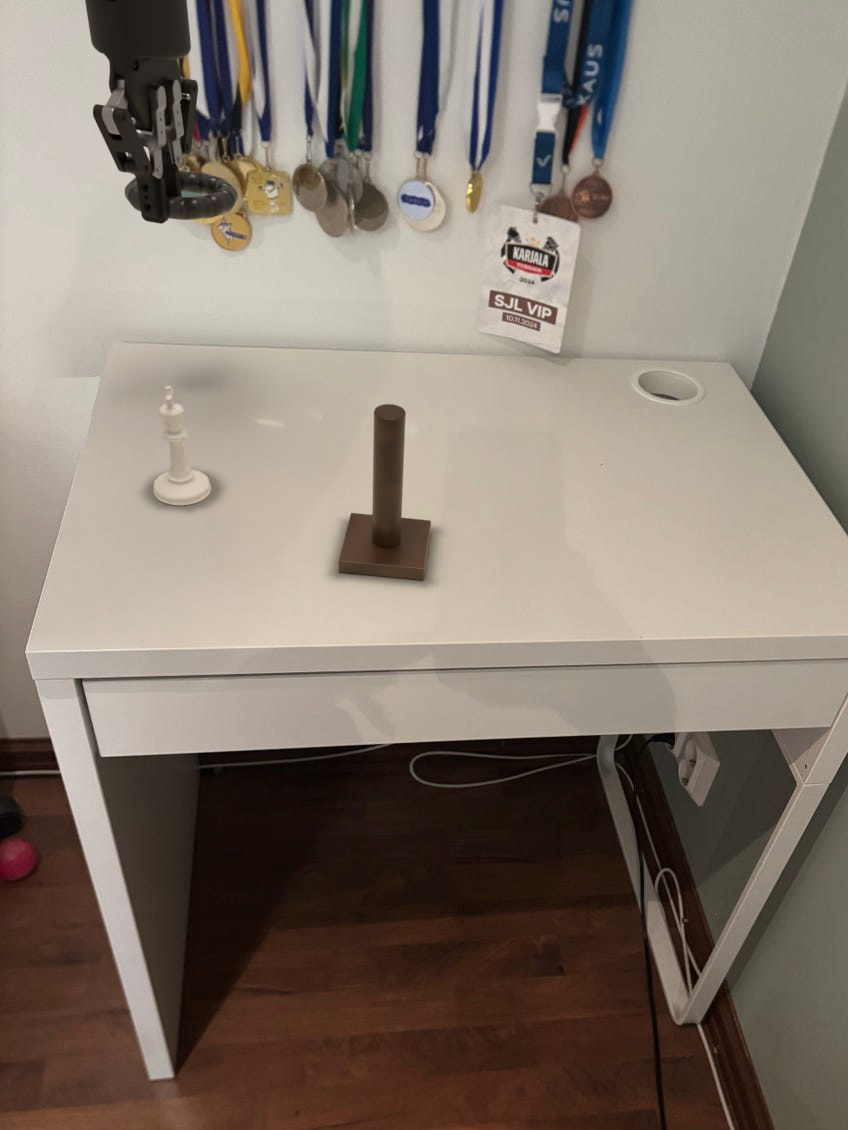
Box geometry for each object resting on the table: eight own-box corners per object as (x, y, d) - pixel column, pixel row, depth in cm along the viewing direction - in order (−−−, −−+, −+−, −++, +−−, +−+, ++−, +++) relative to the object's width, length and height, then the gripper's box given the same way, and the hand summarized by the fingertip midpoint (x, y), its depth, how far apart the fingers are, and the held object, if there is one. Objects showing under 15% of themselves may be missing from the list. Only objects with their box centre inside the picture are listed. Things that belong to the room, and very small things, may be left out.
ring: (113, 215, 83) (110, 193, 82) (145, 184, 91) (142, 164, 89) (224, 227, 84) (222, 205, 82) (246, 195, 91) (245, 174, 90)
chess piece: (150, 505, 83) (132, 401, 76) (157, 475, 87) (141, 372, 80) (208, 505, 84) (196, 402, 77) (213, 475, 87) (201, 374, 81)
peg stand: (338, 572, 78) (336, 429, 70) (350, 523, 84) (350, 385, 75) (423, 580, 79) (432, 439, 70) (430, 531, 84) (439, 394, 75)
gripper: (134, -35, 78) (161, 188, 90) (36, -17, 68) (81, 233, 79) (219, -23, 77) (236, 201, 89) (133, -2, 67) (164, 249, 79)
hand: (162, 215), depth 84 cm, fingers closed on ring, 2 cm apart
